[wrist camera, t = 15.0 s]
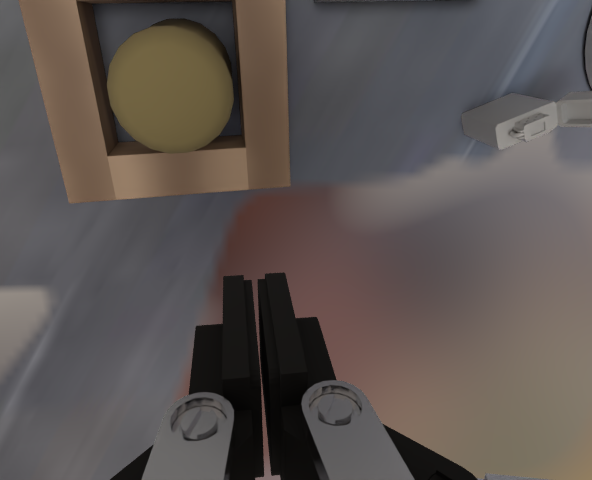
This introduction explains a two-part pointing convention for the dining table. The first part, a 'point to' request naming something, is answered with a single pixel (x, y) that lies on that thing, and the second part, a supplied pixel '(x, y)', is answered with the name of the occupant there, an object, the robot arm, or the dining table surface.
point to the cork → (172, 86)
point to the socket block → (133, 155)
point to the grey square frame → (363, 0)
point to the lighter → (525, 118)
